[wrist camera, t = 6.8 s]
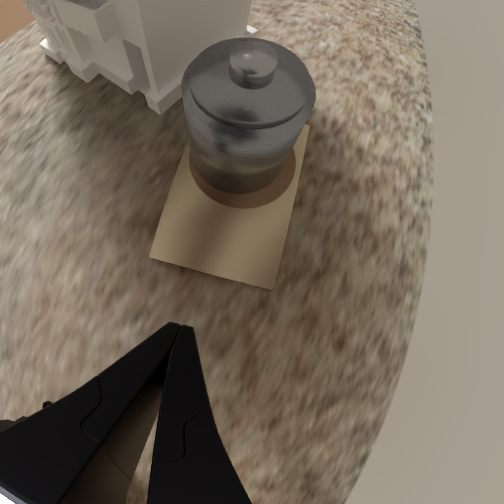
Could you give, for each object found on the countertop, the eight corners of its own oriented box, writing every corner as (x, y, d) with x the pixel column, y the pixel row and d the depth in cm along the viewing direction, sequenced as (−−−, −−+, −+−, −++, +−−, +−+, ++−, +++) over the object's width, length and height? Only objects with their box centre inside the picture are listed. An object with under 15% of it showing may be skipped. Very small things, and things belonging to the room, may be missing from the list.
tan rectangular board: (150, 257, 22) (148, 256, 21) (205, 101, 24) (205, 97, 23) (272, 290, 22) (273, 290, 22) (308, 128, 25) (310, 125, 24)
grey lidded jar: (178, 180, 22) (152, 94, 12) (207, 104, 23) (207, 7, 13) (274, 205, 23) (318, 133, 12) (293, 125, 24) (333, 36, 13)
